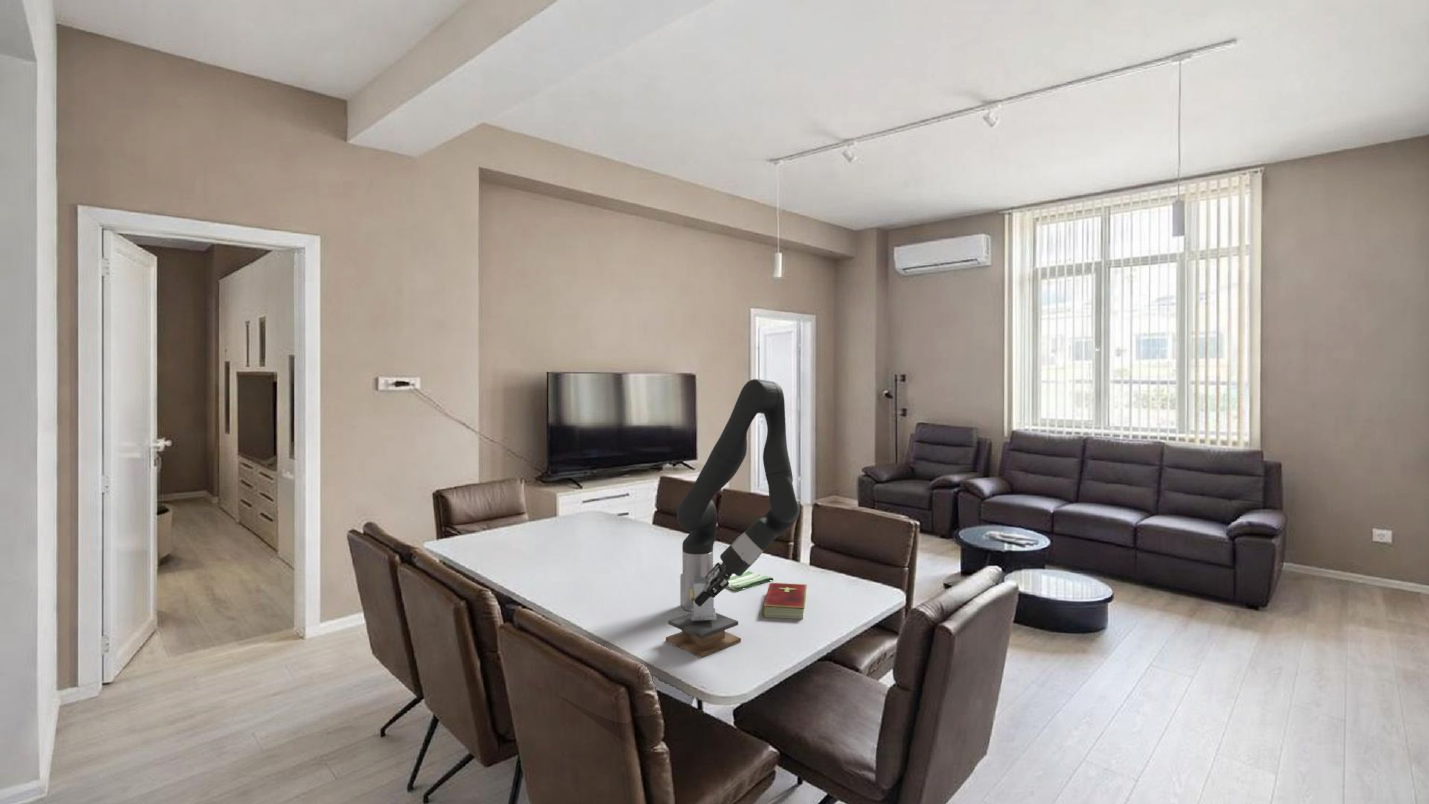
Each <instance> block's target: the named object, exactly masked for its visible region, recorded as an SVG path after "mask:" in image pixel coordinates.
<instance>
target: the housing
mask: <svg viewBox="0 0 1429 804" xmlns="http://www.w3.org/2000/svg"><path fill="white" fill-rule="evenodd" d="M710 579H711V578H708V577H699V578H693V589H690V601H693V602H694V609H691V611H690V613H691V618H692V621H694V620H717V616H716V613H717V612H716V608H715V607H714V605H715V602H714V601H715V599H714V598H715V597H714V598H712V597H709V598H708V600H707V601H706V602H705V603H704V604H703V605H702V606H700V607H699V606H698V605H697V604H696V603H695V601H694V600H695V599H696V598H697V597H698V596H699V595H700V594H701V593H702V592H703V591H704V590H705V588H706V587H707V586H708V585H709V580H710ZM712 591H714V588H713V589H712Z"/></svg>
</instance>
